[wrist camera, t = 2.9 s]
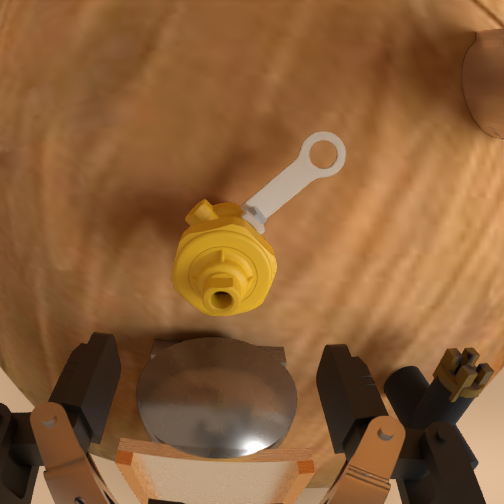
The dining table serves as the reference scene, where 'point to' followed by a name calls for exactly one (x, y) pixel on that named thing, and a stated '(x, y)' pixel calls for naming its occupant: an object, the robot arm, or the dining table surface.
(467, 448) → the pipe connector
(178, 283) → the pressure relief valve
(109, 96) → the dining table surface
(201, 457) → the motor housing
